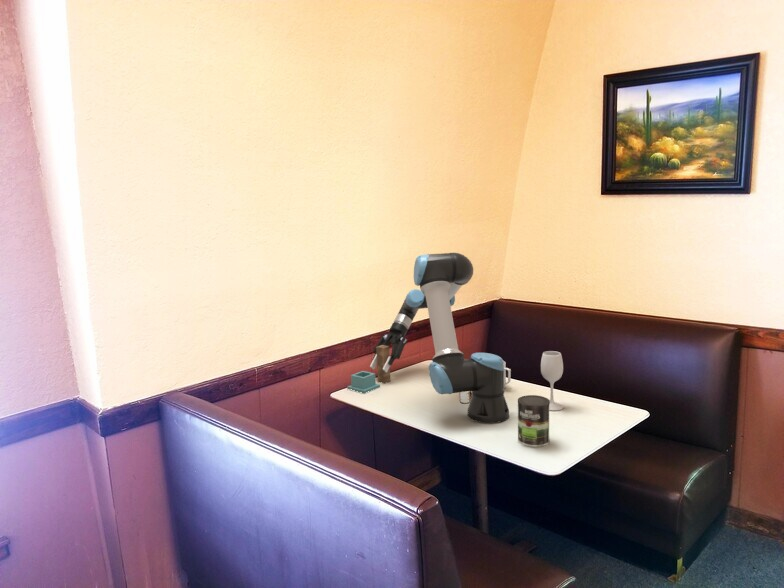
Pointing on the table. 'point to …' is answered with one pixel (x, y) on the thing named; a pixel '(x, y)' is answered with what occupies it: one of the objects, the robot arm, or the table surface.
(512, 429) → the table surface
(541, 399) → the coffee can
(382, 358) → the post
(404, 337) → the robot arm
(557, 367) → the wineglass
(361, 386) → the teal square socket
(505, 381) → the mug
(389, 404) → the table surface
